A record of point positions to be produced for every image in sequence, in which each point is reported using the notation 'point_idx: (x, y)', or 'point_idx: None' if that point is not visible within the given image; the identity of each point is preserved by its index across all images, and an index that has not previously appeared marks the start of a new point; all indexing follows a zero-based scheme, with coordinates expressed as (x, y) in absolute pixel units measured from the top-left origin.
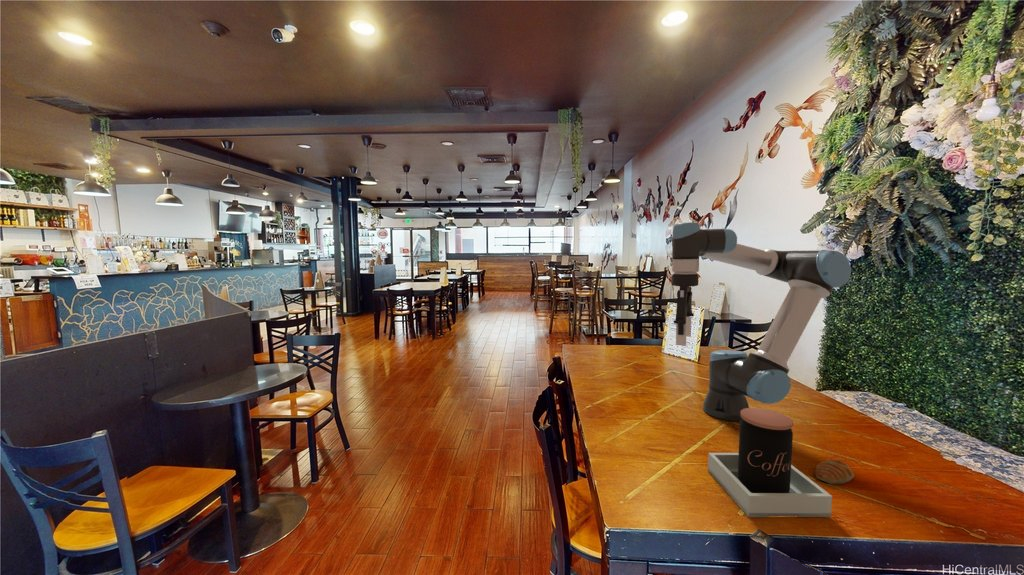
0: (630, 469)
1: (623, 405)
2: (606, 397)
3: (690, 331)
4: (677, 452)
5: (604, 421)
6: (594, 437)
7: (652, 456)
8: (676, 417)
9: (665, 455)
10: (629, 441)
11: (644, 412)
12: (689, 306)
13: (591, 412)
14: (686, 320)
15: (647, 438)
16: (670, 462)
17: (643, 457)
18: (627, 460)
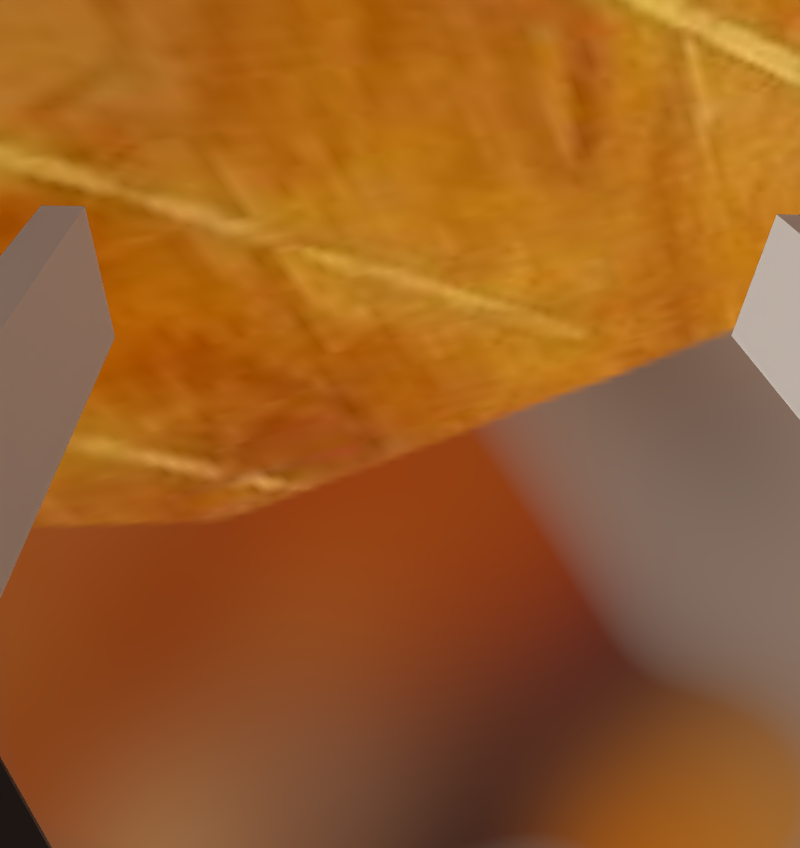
0: (787, 191)
1: (143, 361)
2: (98, 451)
3: (56, 253)
4: (575, 8)
5: (387, 386)
6: (559, 377)
7: (654, 124)
8: (109, 65)
9: (626, 66)
10: (542, 247)
11: (163, 250)
12: (18, 798)
13: (322, 453)
14: (4, 459)
15: (478, 178)
16: (689, 32)
17: (674, 161)
18: (717, 218)
